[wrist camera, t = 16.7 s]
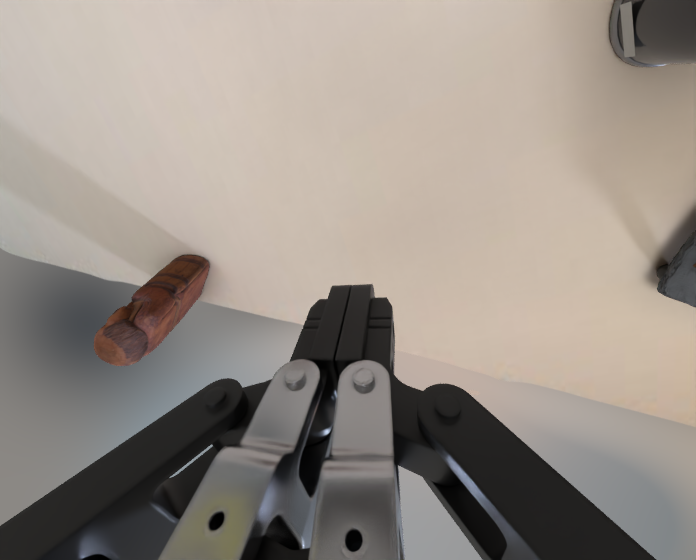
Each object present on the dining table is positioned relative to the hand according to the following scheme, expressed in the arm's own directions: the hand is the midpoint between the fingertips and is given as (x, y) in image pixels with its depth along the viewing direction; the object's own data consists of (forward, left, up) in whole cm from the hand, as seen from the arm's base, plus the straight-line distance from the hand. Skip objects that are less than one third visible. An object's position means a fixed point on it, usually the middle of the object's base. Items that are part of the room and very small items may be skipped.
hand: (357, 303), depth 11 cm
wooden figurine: (+35, +16, -29) cm, 48 cm away
